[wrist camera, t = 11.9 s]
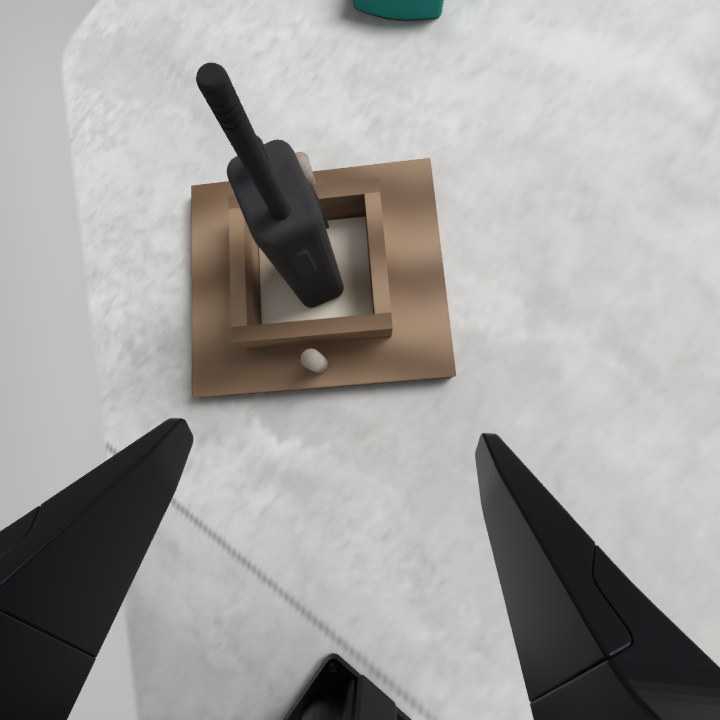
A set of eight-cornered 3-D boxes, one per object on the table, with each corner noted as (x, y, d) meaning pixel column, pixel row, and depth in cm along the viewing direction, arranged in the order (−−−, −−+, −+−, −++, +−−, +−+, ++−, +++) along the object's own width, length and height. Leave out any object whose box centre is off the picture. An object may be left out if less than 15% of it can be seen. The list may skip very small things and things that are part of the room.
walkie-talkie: (282, 255, 23) (110, -5, 8) (325, 236, 23) (229, -57, 8) (307, 315, 23) (167, 144, 8) (352, 295, 23) (297, 87, 8)
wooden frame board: (452, 377, 22) (468, 371, 19) (200, 397, 23) (163, 396, 19) (428, 167, 25) (437, 122, 21) (198, 194, 26) (165, 155, 22)
